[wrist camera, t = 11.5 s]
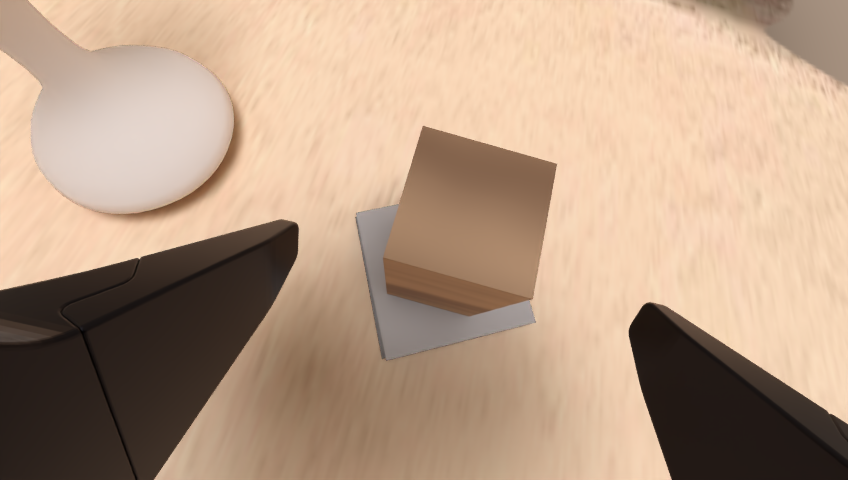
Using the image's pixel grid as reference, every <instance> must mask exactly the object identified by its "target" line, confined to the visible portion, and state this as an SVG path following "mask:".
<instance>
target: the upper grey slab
mask: <svg viewBox="0 0 848 480" xmlns="http://www.w3.org/2000/svg"><path fill="white" fill-rule="evenodd" d="M398 206H399V204H397V205H392V206H387V207H382V208H378V209H373V210H368V211H363V212H358V213H356V215H357V220H358V225H359V230H360V235H361V240H362V244H363V249H364V254H365V259H366V264H367V269H368V273H369V278H370V283H371V288H372V293H373V298H374V303H375V307H376V312H377V317H378V322H379V327H380V332H381V337H382V341H383V346H384V351H385V356H386V361H387V360H391V359H395V358H399V357H403V356H407V355H411V354H414V353H418V352H422V351H426V350H430V349H434V348H438V347H442V346H446V345H450V344H453V343H457V342H461V341H465V340H469V339H473V338H477V337H481V336H485V335H489V334H492V333H496V332H500V331H504V330H508V329H512V328H516V327H520V326H524V325H528V324H531V323H535V322H536V321H535V317H534V314H533V311H532V308H531V305H530V301H529V300H528V301H524V302H520V303H517V304H513V305H509V306H506V307H502V308H499V309H495V310H491V311H488V312H484V313H480V314H477V315H473V316H470V317H469V316H465V315H462V314H458V313H454V312H451V311H447V310H444V309H440V308H436V307H433V306H429V305H426V304H422V303H418V302H415V301H411V300H408V299H404V298H400V297H397V296H393V295H390V294H387V289H386V280H385V271H384V263H383V255H384V252H385V249H386V245H387V242H388V239H389V236H390V232H391V229H392V226H393V223H394V219H395V216H396V213H397V209H398Z"/></svg>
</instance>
